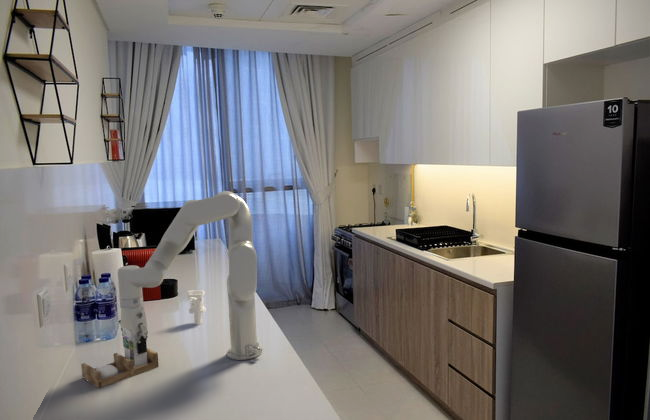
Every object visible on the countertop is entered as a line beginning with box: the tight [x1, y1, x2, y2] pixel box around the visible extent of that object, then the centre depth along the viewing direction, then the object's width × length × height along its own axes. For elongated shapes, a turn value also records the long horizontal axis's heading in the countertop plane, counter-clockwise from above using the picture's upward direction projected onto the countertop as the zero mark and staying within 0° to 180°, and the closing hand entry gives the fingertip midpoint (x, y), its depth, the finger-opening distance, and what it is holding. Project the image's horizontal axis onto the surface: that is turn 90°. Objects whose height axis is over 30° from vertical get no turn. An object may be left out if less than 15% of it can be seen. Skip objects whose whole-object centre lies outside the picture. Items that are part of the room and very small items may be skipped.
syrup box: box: [122, 328, 147, 368], centre depth 178 cm, size 6×6×14 cm
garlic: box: [96, 364, 120, 380], centre depth 172 cm, size 8×7×4 cm
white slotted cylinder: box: [187, 289, 207, 326], centre depth 224 cm, size 7×7×15 cm
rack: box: [81, 347, 160, 389], centre depth 175 cm, size 12×21×5 cm, turn 138°
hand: (135, 349), depth 178 cm, fingers open, 9 cm apart
